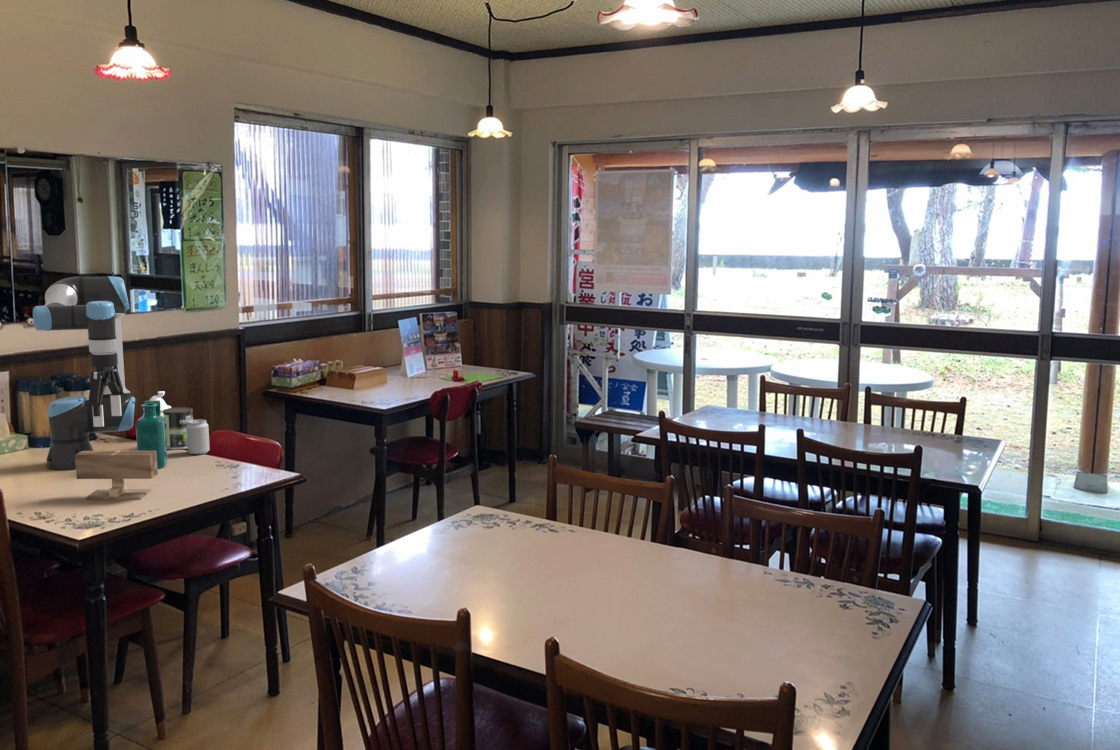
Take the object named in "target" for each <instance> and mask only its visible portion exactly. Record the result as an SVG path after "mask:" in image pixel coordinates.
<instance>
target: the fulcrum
mask: <svg viewBox="0 0 1120 750" xmlns="http://www.w3.org/2000/svg"><path fill="white" fill-rule="evenodd" d="M128 486H129V485H128V481H127V482H125V479H111V488H107V489H105V488H102V489H101V488H100V489H96V490H94V491H93V492H91V493H90V494H88V495H87V496H86V497H85V500H87V501H90V500H92V501H95V500H98V501H99V500H101V501H102V500H106V501H107V500H142V499H143V498H144V497H145V496H147V495H148V494H149V493H151V492H152V491H151V489H150V488H129V487H128Z"/></svg>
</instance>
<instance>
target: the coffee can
mask: <svg viewBox="0 0 1120 750" xmlns="http://www.w3.org/2000/svg"><path fill="white" fill-rule="evenodd" d="M193 410H194V409H193V408H192V407H187V406H182V407H180V406H179V407H171V408H168V409H165V410H163V417H164V418H165V424H166V441H167V450H186V449H188V447H187V429H186V426H187V425H188V421H191V420H194V416H193Z"/></svg>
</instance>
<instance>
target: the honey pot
mask: <svg viewBox="0 0 1120 750" xmlns="http://www.w3.org/2000/svg"><path fill="white" fill-rule="evenodd" d="M165 394H166V391H164V390H163V391H162V390H160V391H159V390H158V391H157V394H156V395H153V396H152V397H150V399H149V400H148V401H160V411H161V412H160V416H163V410H165V409H168V408H172V406H171V405H170V404H169V405H168V404H167V403H166V401H165V400H164V399H163V397H164V396H165ZM142 409H143V411H144V408H143V407H142ZM143 416H144V413H143V415H142V416H141V417H143Z"/></svg>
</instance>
